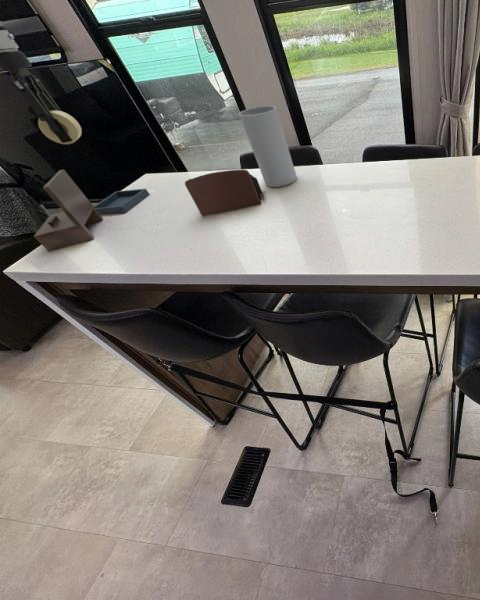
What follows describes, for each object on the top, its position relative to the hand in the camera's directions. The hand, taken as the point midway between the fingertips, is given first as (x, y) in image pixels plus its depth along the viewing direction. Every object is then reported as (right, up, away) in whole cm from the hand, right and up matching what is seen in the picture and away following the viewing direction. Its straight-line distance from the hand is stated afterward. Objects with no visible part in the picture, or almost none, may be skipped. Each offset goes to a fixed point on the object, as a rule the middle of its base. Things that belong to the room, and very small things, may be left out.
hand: (69, 139), depth 106 cm
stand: (+4, -33, 0) cm, 33 cm away
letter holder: (+52, -21, +7) cm, 56 cm away
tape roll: (0, +3, -3) cm, 4 cm away
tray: (+2, -16, +18) cm, 25 cm away
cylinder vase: (+63, -6, +22) cm, 67 cm away
